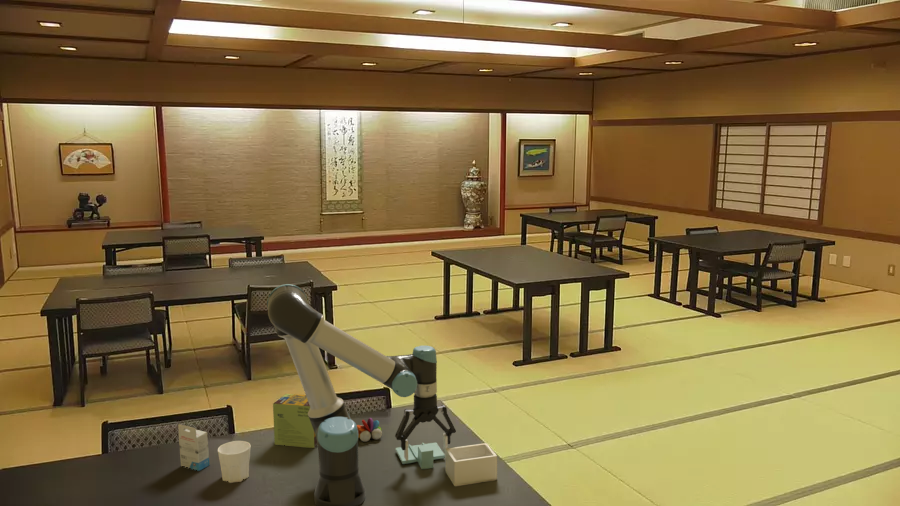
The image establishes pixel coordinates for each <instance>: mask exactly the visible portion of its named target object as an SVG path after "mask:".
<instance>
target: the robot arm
mask: <svg viewBox="0 0 900 506" xmlns="http://www.w3.org/2000/svg"><path fill="white" fill-rule="evenodd" d="M266 306H267V316H268V319H269V321H270V323H271V324H272V325H273V327H274V329H275V331H276V334H277V337H280V338H283V340H285V343H286V346H287V348H288V351H289V355H290V357H291V359H292V362H293V364H294V367H295V370H296V372H297V376H298V378H299V381H300V383H301V386H302V388H303V391H304V395H306V397H307V399H308V402H309V405H310V410H309V412H308V416H309V419H310V422H311V424H312V427H313V430H314V433H315V436H316V440H317V450H318V474H319V476H318V478H317V479H318V480H317V483H316V486H315V489H314V492H313V497H314V498H313V500H314V505H316V506H360V505H362V504H363V503H364V501H365V500H366V487H365V485H364V483H363V479H362V477H361V475H360V470H359V469H360V467H359V465H360V464H359V438H358V430H357V425H358V424H357V423H356V422H355V421H354V420H353V419H352V418H351V416H350V413H349V412H348V409H347V408H346V407H347V406H346V404H345V402H344V399H342V398H341V397H338V396H337V393H336V391H335V388H334V385H333V383H332V381H331V380H332V379H331V377H330V375H329V372H328V369H327V366H326V364H325V361H324V359H323V356H322V355H323V354H322V353H321V350H323V351H325V352H326V353H328V354H330V355H331V356H333V357H336V358H337V359H338V360H340V361H342V362H344V363H345V364H347V365H349V366H351V367H353V368H354V369H357V370H358V371H360V372H362V373H363V374H365V375H367V376H369V377H370V378H372V379H374V380H375V381H377V382H379V383H381V384H383V385H384V386H386V387H388V388H389V389H391V390H392V392H393V393H394V394H395V395H397V396H398V397H400V398H408V397H410V396H412V395H413V409H407V408H405V409H404V410H403V416H402V419H401V421H400V422H399V423H400V424H399V425H398V428H397V430H396V432H395V435H394V437H395V438H396V440H397V441H400V447H401V448H402V450H404V458H405V459H406V461H407V460H408V446H409V441H408V438H409V436H411V434H412V432H413V431H414V430H415V428H416V427H417V426H419V424H420V423H422V424H424V423H426V422H427V423H429V422H432V421H434V423H436V424H437V425H438V426H439V427H440V429H442V431H443V433H442V452H443V453H444V455H445V449H446V448H449V445H450V444H451V436H452V434H455V433H456V432H457V430H456V428H455V426H454V424H453V422H452V421H451V419H450V416H449V414H448V410H447V409H448V408H447V407H446V406H445V405H444V404H441V405H440V406H438V394H437V392H438V391H437V390H438V388H437V387H438V385H437V384H438V383H437V381H438V380H437V367H438V366H437V365H438V364H437V363H438V361H437V350H436V349H435V348H434V347H433V346H430V345H418V346H415V347H414V348H412V353H410V354H401V355H399V354H398V355H385V354H383V353H381V352H380V351H379V350H377V349H375V348H373V347H372V346H369V345H368V344H366V343H364V342H363V341H361V340H360V339H358V338H356V337H354V336H353V335H351V334H349V333H347V332H346V331H344V330H342V329H341V328H339V327H338V326H336V325H335V324H332V323H330V322H329V321H327V320H325V319H324V314H322V313H321V312H319V311H317V310H316V309H314V308H313V306H311V305H310V304H309V302H308V299H307V295H306V293H305V291H304V290H303V289H301V288H300V287H299V286H297V285H294V284H290V283H286V284H285V283H284V284H281V285H278V286H277V287H275V288H273V290H272V291H271V292H270V293H269V295H268V298H267V302H266ZM320 349H321V350H320ZM439 412H440V413H441V414H442V415H443V417H444V419H445V422H446V423H447V426H448V427H449V428H447V426H446V425H444V424H443V422H442V421H441V420H440V419H439V418H438V417H437V414H438V413H439ZM412 415H414V416H413V418H412V420H411V422H410V423H409V424H408V422H409V419H410V418H411V417H412ZM407 424H408V426H407ZM406 426H407V427H406Z"/></svg>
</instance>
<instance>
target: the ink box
mask: <svg viewBox="0 0 900 506" xmlns="http://www.w3.org/2000/svg"><path fill="white" fill-rule="evenodd" d="M177 427H178V428H177V429H178V433H177V434H178V444H179V455H180V456H179V458H180V466H181V467H182V466H185V467H184V468H186V467H188V468H187V469H189V468H191V469H190V470H193V469H194V470H193V471H196V470H197V471H196V472H200V471H202V470H204V469H205V468H208V467H209V466H210V453H209V440H208V438H209V437H208V431H203V430H199V429H196V427H191V426H188V425H184V424H180V423H179V424H178V425H177Z"/></svg>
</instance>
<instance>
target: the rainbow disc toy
mask: <svg viewBox="0 0 900 506" xmlns="http://www.w3.org/2000/svg"><path fill="white" fill-rule="evenodd" d="M361 423H362V424H361V425H360V424H356V425H357V430H358V439H360V441H361V442H364V443H366V442H369V441H370V439H373V440H380V439H381V438H382V435H383V431H382V428H381V426H380V421H379V420H373V418H372V417H369V418H367V421H365V419H362V420H361Z"/></svg>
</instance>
